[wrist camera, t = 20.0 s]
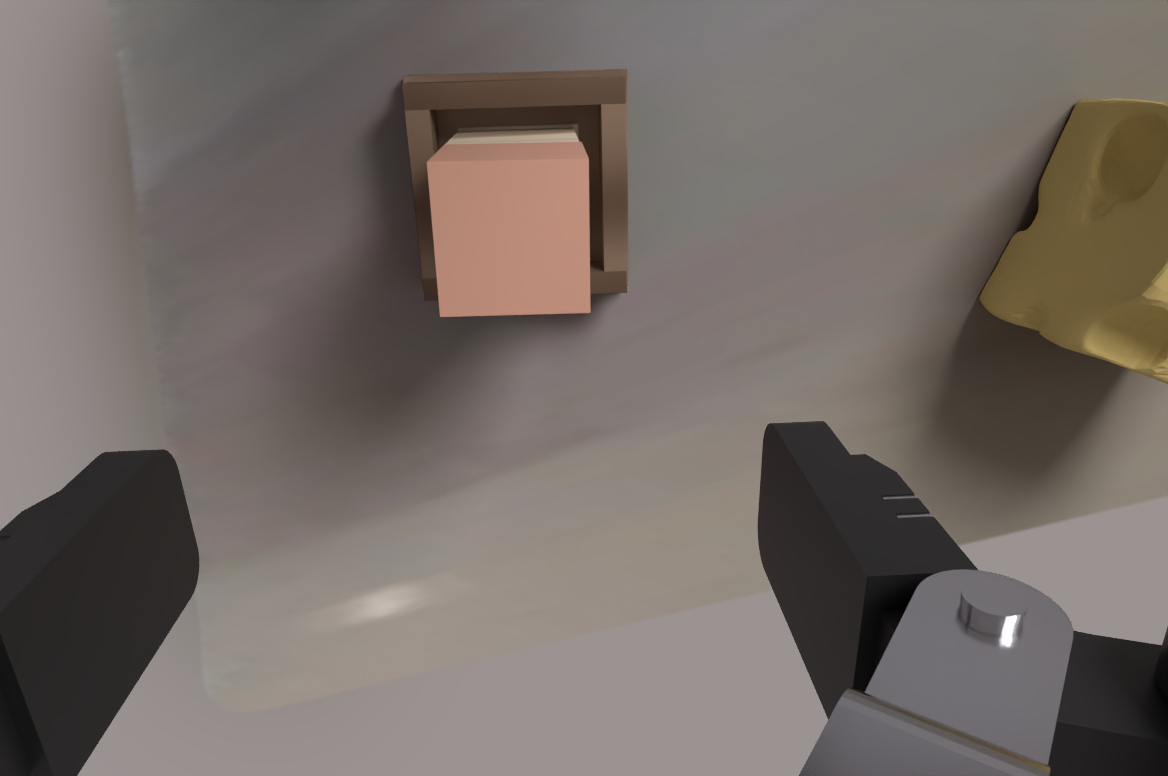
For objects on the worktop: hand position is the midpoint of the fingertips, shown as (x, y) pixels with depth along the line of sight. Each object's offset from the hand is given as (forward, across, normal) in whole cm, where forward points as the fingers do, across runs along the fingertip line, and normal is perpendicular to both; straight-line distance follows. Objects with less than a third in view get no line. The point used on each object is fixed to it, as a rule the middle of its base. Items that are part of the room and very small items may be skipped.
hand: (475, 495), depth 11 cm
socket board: (+28, 0, 0) cm, 28 cm away
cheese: (+28, -28, +3) cm, 40 cm away
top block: (+21, 0, 0) cm, 21 cm away
